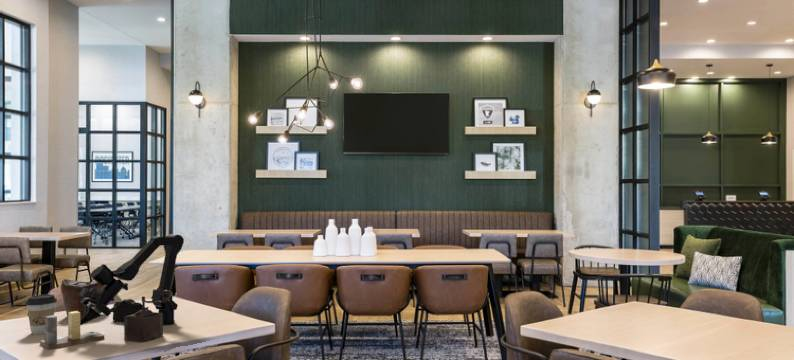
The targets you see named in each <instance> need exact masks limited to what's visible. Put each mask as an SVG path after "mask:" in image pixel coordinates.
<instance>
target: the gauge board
mask: <svg viewBox="0 0 794 360" xmlns="http://www.w3.org/2000/svg"><path fill="white" fill-rule="evenodd" d="M101 340H105V334H103V333H100V332H99V331H96V330H93V331H86V332H80V339H74V340H71V339H69V338H68V335H65V336H60V337H58V316H56V315H55V314H54V315H51V316H45V333H44V339H42V340H39V345H40V346H41V347H43V348H44V349H46V350H53V349H59V348H64V347H70V346H74V345H80V344H85V343H92V342H96V341H101Z"/></svg>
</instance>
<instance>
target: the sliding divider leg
mask: <svg viewBox="0 0 794 360" xmlns="http://www.w3.org/2000/svg"><path fill="white" fill-rule="evenodd" d="M67 318H68V319H67V320H68V322H67V323H68V327H67V328H68V329H67V331H68V332H67V336H68V338H69V339H71V340H74V339H80V334H81V325H80V319H81V318H80V312H78V311H74V312H68V317H67Z"/></svg>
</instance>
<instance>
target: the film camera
mask: <svg viewBox="0 0 794 360" xmlns="http://www.w3.org/2000/svg"><path fill="white" fill-rule="evenodd" d="M110 309H111V313H112V321H113V322H116V323H117V322H118V323H121V322H122V323H124V317H125V316H128V315H132V314H135V313H136V312H138V311H140V310H142V302H136V301H135V300H134V299H132V298H126V299H122V300H121V301H116V302H114V304H113V306H112V307H111V308H110ZM145 309H149V306H145Z"/></svg>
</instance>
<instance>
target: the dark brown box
mask: <svg viewBox="0 0 794 360" xmlns="http://www.w3.org/2000/svg"><path fill="white" fill-rule="evenodd" d="M172 294H173V291H172V292H171V291H170V290H164V291H163V292H162V295H163V299H162V301H152V300H146V297H145V296H141V302H140V303H141V304H142V310H140V311H138V312H136V313H135V314H132V315H128V316H125V317H124V322H123V328H124V330H123V331H124V332H123V337H124V338H123V340H124V341H128V342H135V343H136V342H137V343H145V342H148V341H152V340H156V339H157V338H160V337H162V336H164V331H163V330H164V328H163V327H164V325H163V313H158V312H155V311H152V310H151V309H149V308H148V309H145V308H146V305H145V304H153V303H163V302H164V303H165V302H167V301H169V298H170V296H171V295H172Z"/></svg>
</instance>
